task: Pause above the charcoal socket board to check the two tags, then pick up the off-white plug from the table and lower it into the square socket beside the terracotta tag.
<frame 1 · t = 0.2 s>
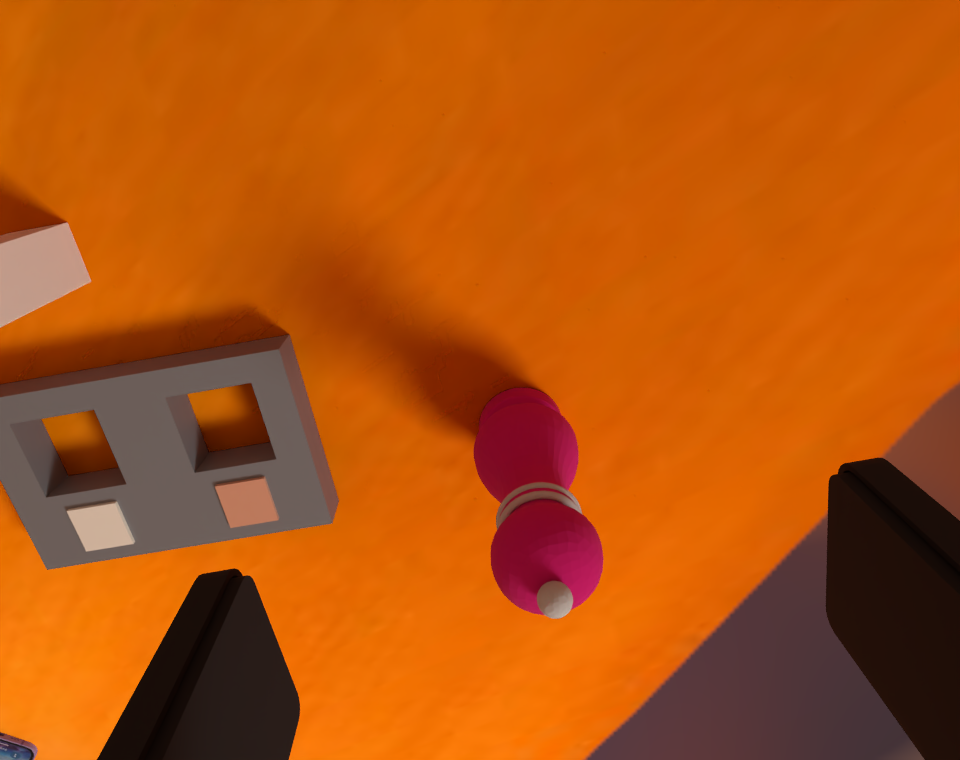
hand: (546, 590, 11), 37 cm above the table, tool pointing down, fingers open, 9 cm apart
socket board: (172, 446, 50), on the table
pepper mill: (520, 423, 51), on the table
plug: (50, 257, 45), on the table
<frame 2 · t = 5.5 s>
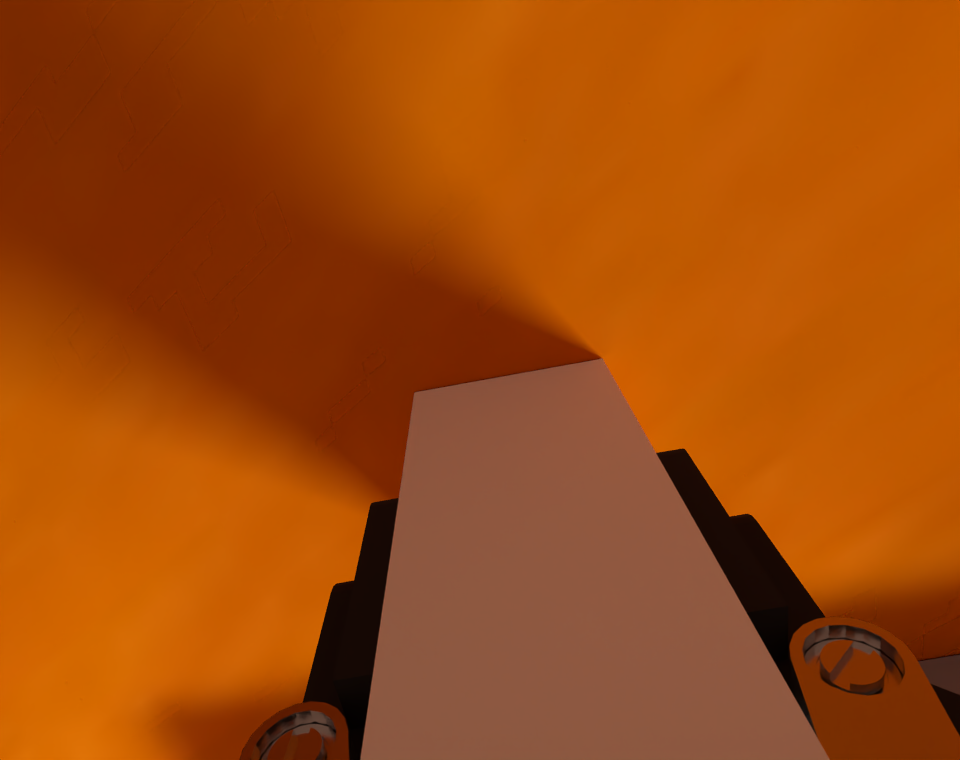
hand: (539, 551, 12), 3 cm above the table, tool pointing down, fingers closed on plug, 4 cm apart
plug: (522, 457, 15), on the table, touching gripper
when the fingers open (5 cm above the table, at t = 10.7 s): plug drops 2 cm, resting in socket board.
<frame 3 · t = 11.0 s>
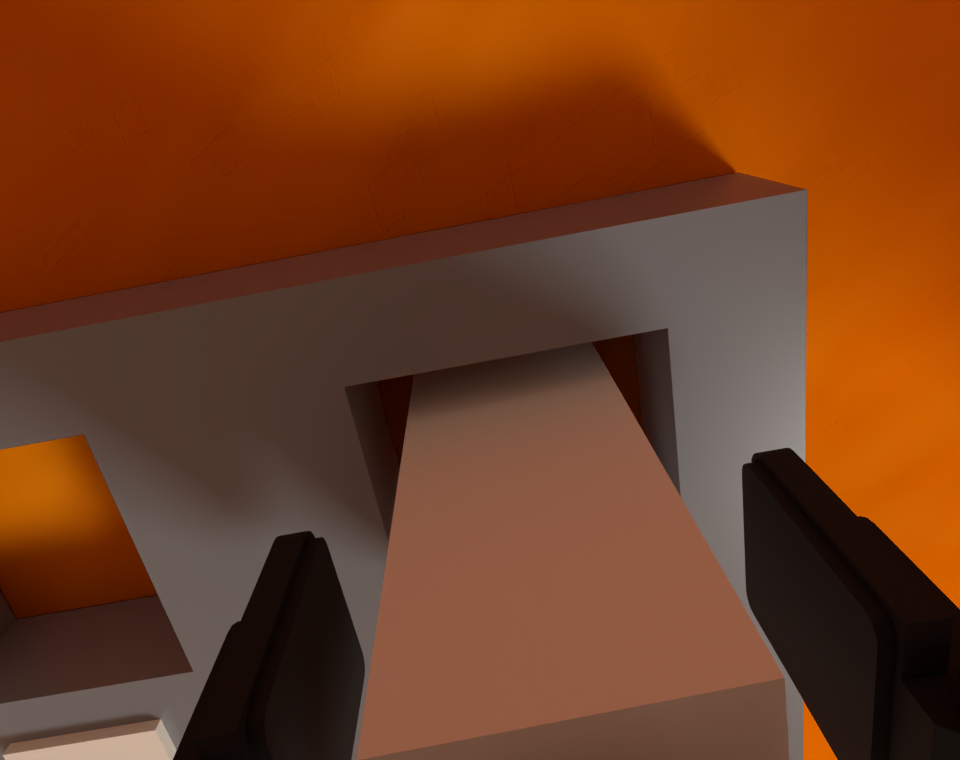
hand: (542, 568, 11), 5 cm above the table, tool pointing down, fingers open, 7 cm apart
socket board: (317, 534, 17), on the table
plug: (516, 425, 16), resting in socket board
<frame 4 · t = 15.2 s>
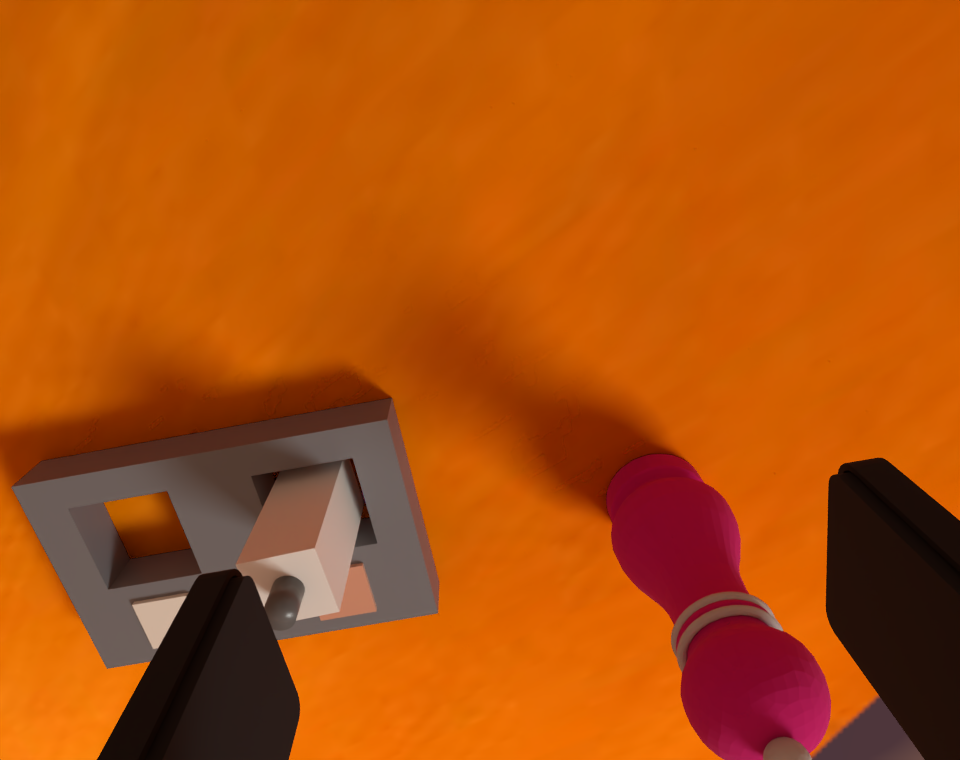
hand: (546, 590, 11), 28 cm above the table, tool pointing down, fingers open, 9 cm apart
socket board: (250, 524, 43), on the table
pepper mill: (652, 493, 44), on the table
plug: (324, 482, 42), resting in socket board
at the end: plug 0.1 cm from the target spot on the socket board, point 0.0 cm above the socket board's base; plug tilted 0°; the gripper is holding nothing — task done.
